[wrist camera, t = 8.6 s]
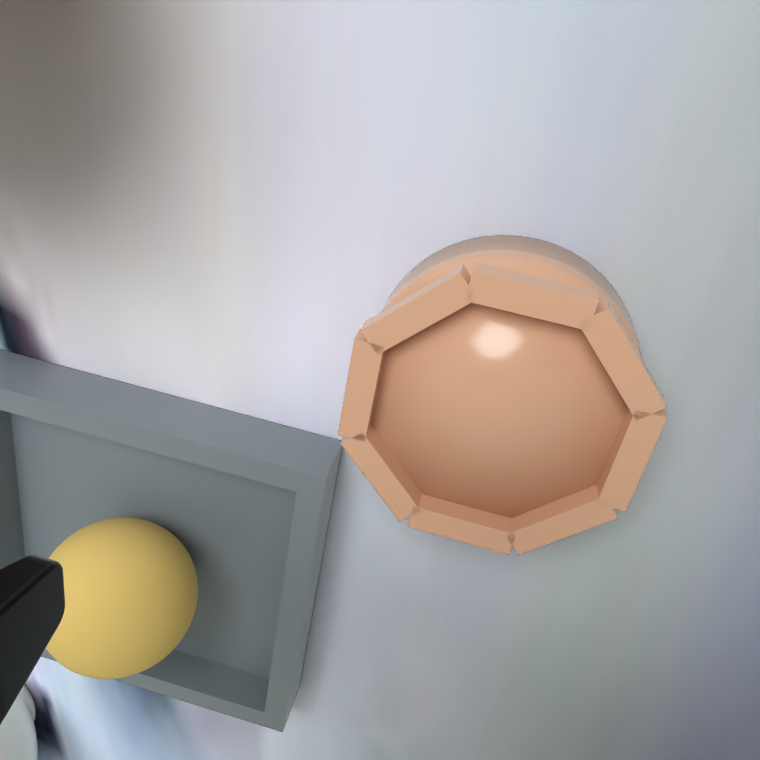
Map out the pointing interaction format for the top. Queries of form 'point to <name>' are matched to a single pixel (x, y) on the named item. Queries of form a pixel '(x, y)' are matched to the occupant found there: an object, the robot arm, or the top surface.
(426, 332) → the bowl
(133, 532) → the ball
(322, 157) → the top surface
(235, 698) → the tray
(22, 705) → the lidded jar
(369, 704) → the top surface
